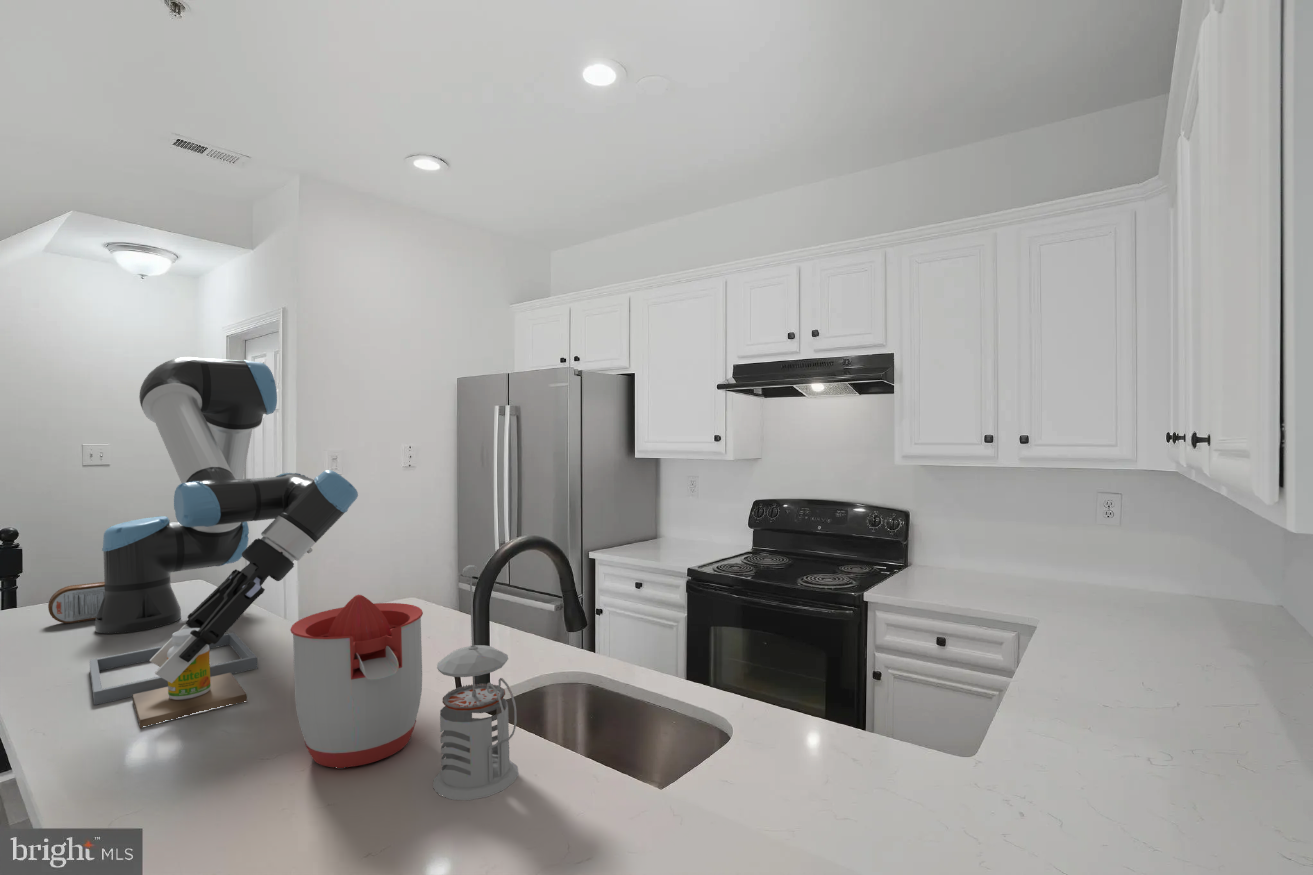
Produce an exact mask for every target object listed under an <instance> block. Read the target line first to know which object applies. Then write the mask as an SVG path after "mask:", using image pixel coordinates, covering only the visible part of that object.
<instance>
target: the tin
mask: <svg viewBox="0 0 1313 875" xmlns="http://www.w3.org/2000/svg"><path fill="white" fill-rule="evenodd" d="M104 594H105V584H104V581H98V582H92V583H81V584H72V585H67V586H64V587H62V588H60V589H58V590H57V591H55V592H54V593H53V595H52V596H51V597H50V598H49V601H48V604H47V607H48V613H49V614H50V617H51V618H52V619H54V621H57V622H58V623H61V624H62V623H63V624H75V623H82V622H87V621H95V620H96V617H97V614H98V611H99V609H100V606H101V603H102V600H103V598H104Z"/></svg>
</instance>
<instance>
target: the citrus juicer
mask: <svg viewBox="0 0 1313 875" xmlns="http://www.w3.org/2000/svg"><path fill="white" fill-rule="evenodd" d="M423 615H424V611H423V610H422V608H420V607H419V606H416V605H414V604H410V603H400V602H379V603H378V602H377V603H373V602H372V601H371V600H370V599H368V597H365V596H364V595H363V594H355V595H354V596H353V597H351V598H350V600H349V601H348V602H347V603H346V604H345V605H344V606H343V607H338V608H332V609H328V610H324V611H320V612H317V613H314V614H310V615H308V616H305V617H302V619H299V620H297V621H296V622H294V623H293V624H292V625H291V627H290V629H289V631H290V632H291V634H292V637H293V640H292V646H293V674H294V676H293V677H294V678H293V680H294V700H295V701H294V702H295V709H296V710H295V711H296V715H297V719H298V725H299V728H300V731H301V733H302V734H301V735H302V736H303V738H304V744H305V748H306V749H307V750H308V753H309V755H310V756H311V758H312V760H313V761H314V762H316V763H317V764H319V765H320V766H323V767H330V768H334V767H337V768H344V767H347V768H351V767H359V766H363V765H368V764H371V763H375V762H378V761H380V760H384V759H385V758H389V757H390V756H392V755H394V754H396V753H398V752H400V751H402V750H403V749H404V747H406V745H407V744H408V743H409V742H410V739H411V737H412V735H413V731H414V729H415V726H416V724H417V718H418V717H417V716H418V713H419V709H420V705H421V699H422V698H421V697H422V691H423V657H422V656H423V655H422V653H423V652H422V651H423V650H422V648H423V647H422V621H421V620H422V616H423ZM344 769H345V768H344Z"/></svg>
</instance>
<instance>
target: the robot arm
mask: <svg viewBox="0 0 1313 875" xmlns="http://www.w3.org/2000/svg"><path fill="white" fill-rule="evenodd" d="M138 399H139V403H140V407H141V409H142V411H143V414H144V415H145V417H146V418H147V419H148V420H149V421H151V422H153V423H154V424H155V426H156V427H157V428H156V429H157V430H158V433H159V435H160V437H161V439H162V441H163V443H164V447H165V449H166V451H167V453H168V455H169V458H170V460H171V462H172V464H173V467H174V469H175V471H176V474H177V476H178V478H179V481H180V483H179V485H177V486H176V488H175V490H174V493H173V494H174V495H173V510H174V513H175V519H176V521H170V519H169V517H168V516H167V515H166V516H165V515H163V516H159V515H158V516H153V517H144V518H140V519H138V518H137V519H133V520H129V521H128V520H127V521H124V522H121V523H116V524H114V525H112V526H110V527H108V528H106V530H105V531H104V533H103V542H102V548H101V549H102V550H101V551H102V553H103V574H104V576H103V578H104V579H103V582H104V584H105V594H104V598H103V600H102V603H101V606H100V609H99V611H98V614H97V617H96V620H94V632H96V633H99V634H124V633H134V632H138V631H145V630H151V629H155V628H159V627H160V628H161V627H163V626H166V625H169V624H173V623H175V622H177V621H179V620H180V619H182V608H181V606H180V604H179V601H178V598H177V596H176V595H175V592H174V590H173V588H172V585H171V573H176V572H183V571H191V570H197V569H204V568H210V567H211V568H212V567H221V566H225V565H229V564H234V563H236V562H238V561H240V559H242V558H243V559H244V560H246V561H247V562H248V564H247V565H245V567H243V568H242V569H241V570H238V569H234V570H232V571H231V573H230V574H229V575H227V578H225V579H224V581H223V582H221V583H220V585H218V586H217V587H216V588H215V589H214V590H213V591H212V592H211V593H210V594H209V595H208V596H207V597H206V598H205V599H204V600H203V601H201V603H200V604H199V605H198V606H196V608H195V609H194V610H192V612H190V613H189V614H188V615H187V618H186V622H185V624H183V626H182V627H180V629H178V631H180V630H184V629H190V628H200V629H199V630H198V631H196V630H192V631H191V632H190V634H191V636H190V637H189V638H188V639H187V640H186V641H185V642H184V643H183V644H182V645H181V646H180V647H179V648H178V649H177V650H176V651H175V652H174V653H173V654H172V655H171V656H170V657H169V658H168V660H167V652H168V650H169V649H170V648H172V647H173V646H174V644H173V643H172V637H171V638H169V640H168V641H167V642H165V644H164V645H162V646H163V647H162V648H161V649H160V650H159V651H158V652H157V653H156V654H155V655H154V656H153V657H152V658H151V659H150V661H149V662H150V663H152V664H154V665H156V666H157V667H158V669H156V671H155V672H154V675H156V676H157V677H159V676H160V677H161V678H163V679H165V680H167V681H168V682H170V683H173V682H174V681H175V680H176V678H177V677H178V676H179V675H180V674H181V673H182V672H183V671H184V670H185V669H186V668H187V667H188V666H189V665H190V664H191V663H192V662H193V661H194V660H195V658H196V657H197V656H198V655H199V654H200V653H201V652H202V651H203V650H204V649H205V648H206V647H207V646H208V645H210V644H211V643H213V644H216V643H217V642H218V641H219V640H220V638H221V637H222V636H223V635H224V634H227V632H228V630H230V628H231V627H232V626H233V625H234V624H235V623H236V622H237V621H238V620H239V618H240V617H241V616H242V615H243V614H244V613H245V612H246V611H247V609H248V608H250V606H252V604H253V603H254V601H256V600H257V599H258V598H259V597H260V596H261V595H263V594H264V593H265V590H266V589H265V588H264V587H263V584H264V583H265V581H266V580H267V579H268V578H271V579H273V580H274V581H276V582H280V581H281V580H283V579H284V577H286V576H287V575H288V574H289V572H291V570H292V569H293V568H294V567H295V563H294V561H298V562H299V561H300V560H301V559H302V558H303V557H304V556H305V555H306V554H307V553H308V554H310V553H312V552H313V548H312V547H313V546H314V545H315V544H316V543H317V542H318V541H319V540H320V539H321V538H323V536H324V535H325V534H326V533H327V532H328V531H329V530H330V529H331V527H333V526H334V525H335V524H336V522H338V521H339V519H340V518H342V516H343V515H345V513H348V510H349V509H350V507H351V506H352V505H353V504H354V502H356V500H357V499H358V496H359V492H358V490H357V489H356V488H355V486H354V485H353V484H352V483H351V482H350V481H348V480H347V479H346V478H345V477H343V476H342V474H341V475H340V474H339V473H338V472H336V471H335V470H332V469H326V470H324V471H323V472H321V473H320V474H319V475H316V476H315V477H314V479H312V478H311V477H308V476H306V475H304V474H301V473H297V472H283V473H280V474H277V475H276V476H271V477H270V476H269V477H255V478H254V477H253V478H244V474H245V469H246V468H245V467H246V464H247V457H248V453H249V449H250V442H251V438H252V434H253V433H252V432H253V430H254V429H257V428H258V427H260V426H261V424H262V422H263V417H264V415H266V416H267V415H271V414H273V413H274V412H275V411H276V408H277V404H278V392H277V386H276V381H275V377H274V374H273V372H272V371H271V368H270V367H269V366H268V365H267V364H265V363H263V362H261V361H252V360H247V359H243V360H242V359H240V360H238V359H222V358H205V357H204V358H203V357H196V356H195V357H194V356H193V357H192V356H182V357H178V358H176V357H175V358H173V359H170V360H167V361H165V362H163V363H161V364H160V365H157V366H156V367H155V368H154V369H152V370H151V371H150V372H149V373H148V374H147V375H146V377H145V378H144V380H143V381H142V384H141V386H140V388H139V397H138ZM266 520H273V521H271V522H270V523H269V525H267V526H266V528H265V529H264V530H262V532H261V533H260V535H261V538H259V537H258V538H255V539H254V540H253V541H252V542H251V543H250V544H249V538H250V537H249V533H250V532H249V531H250V530H249V524H248V522H257V521H258V522H259V521H266ZM248 544H249V545H248Z"/></svg>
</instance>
